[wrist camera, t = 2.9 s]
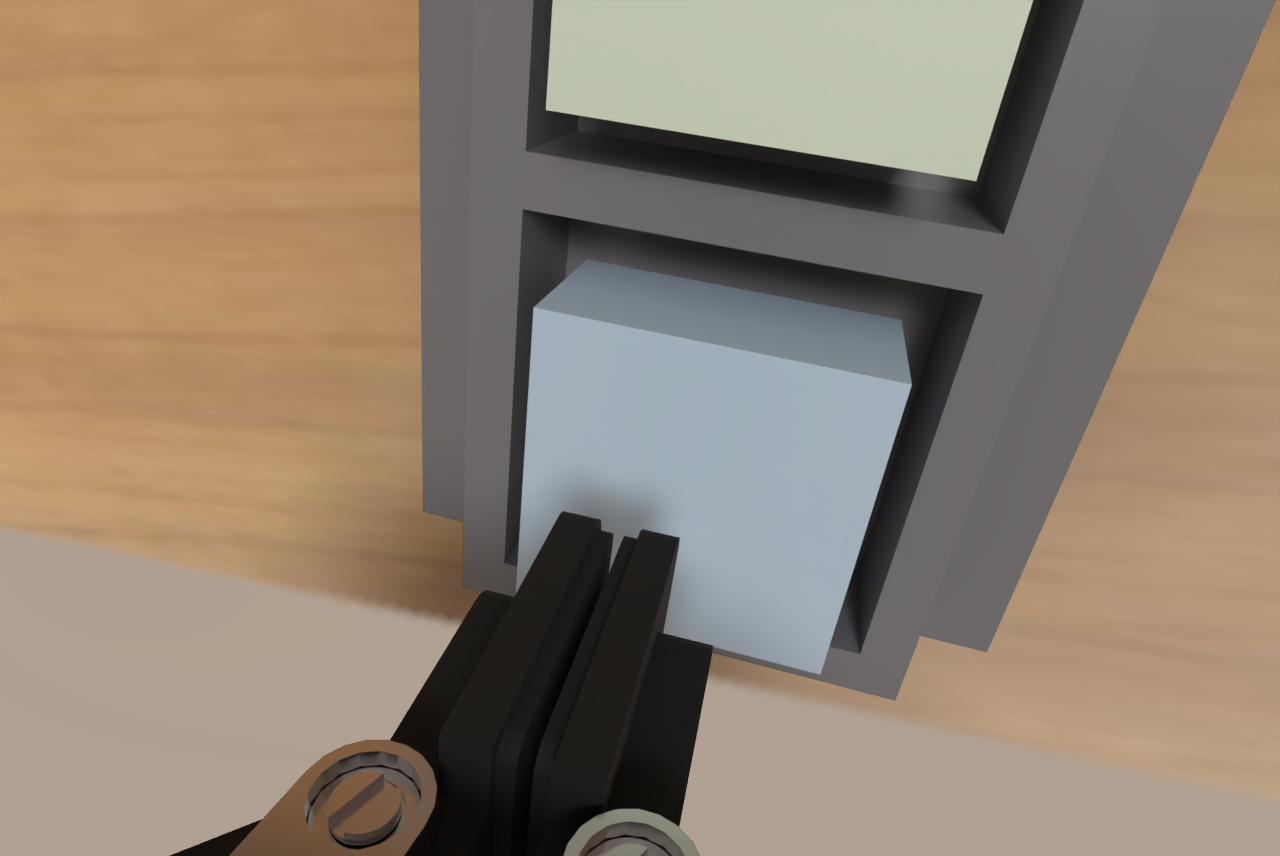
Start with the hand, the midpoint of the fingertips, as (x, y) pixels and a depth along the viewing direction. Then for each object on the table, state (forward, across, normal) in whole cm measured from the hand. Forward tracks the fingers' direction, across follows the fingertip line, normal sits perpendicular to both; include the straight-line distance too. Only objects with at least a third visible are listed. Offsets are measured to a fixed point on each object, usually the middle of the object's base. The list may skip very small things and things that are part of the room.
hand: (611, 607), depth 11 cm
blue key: (+6, -1, 0) cm, 6 cm away
